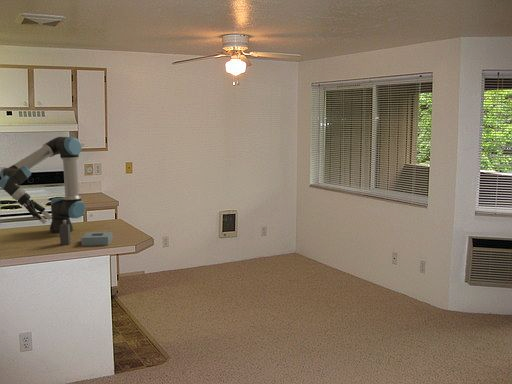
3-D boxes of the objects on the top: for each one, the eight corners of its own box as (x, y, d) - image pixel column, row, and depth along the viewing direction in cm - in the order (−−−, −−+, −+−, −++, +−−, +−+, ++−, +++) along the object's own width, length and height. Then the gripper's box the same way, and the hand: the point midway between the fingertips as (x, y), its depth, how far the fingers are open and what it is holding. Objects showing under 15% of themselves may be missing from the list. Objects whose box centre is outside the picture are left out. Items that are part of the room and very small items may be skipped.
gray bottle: (62, 243, 361) (61, 219, 359) (70, 243, 362) (69, 219, 360) (60, 245, 356) (59, 221, 354) (68, 244, 357) (67, 220, 355)
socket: (87, 239, 370) (86, 232, 369) (112, 239, 371) (112, 231, 370) (81, 245, 354) (81, 237, 353) (108, 245, 355) (107, 237, 354)
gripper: (23, 198, 365) (48, 221, 369) (10, 204, 340) (38, 228, 344) (31, 189, 365) (57, 212, 368) (19, 195, 340) (47, 219, 344)
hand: (48, 220), depth 356 cm, fingers open, 13 cm apart
